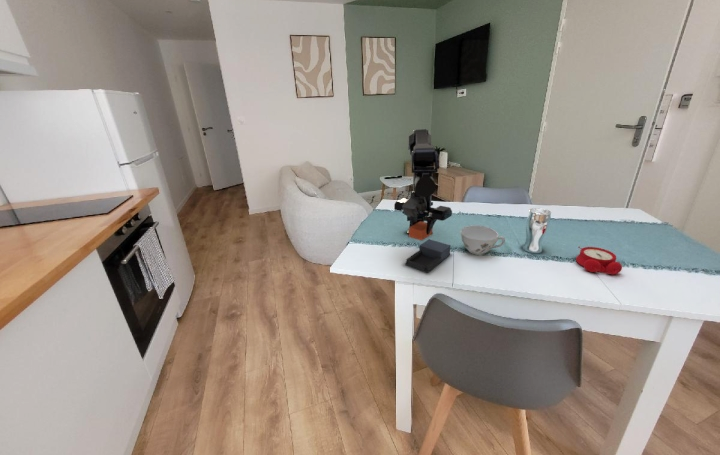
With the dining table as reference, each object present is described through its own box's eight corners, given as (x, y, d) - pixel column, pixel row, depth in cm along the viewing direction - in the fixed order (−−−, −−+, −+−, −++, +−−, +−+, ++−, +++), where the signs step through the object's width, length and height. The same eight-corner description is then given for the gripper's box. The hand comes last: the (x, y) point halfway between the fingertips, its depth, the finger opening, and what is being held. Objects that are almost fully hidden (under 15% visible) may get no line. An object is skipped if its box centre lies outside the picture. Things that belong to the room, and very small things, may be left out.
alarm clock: (609, 247, 98) (633, 259, 84) (605, 265, 99) (629, 279, 85) (573, 244, 101) (590, 255, 87) (570, 261, 102) (586, 274, 88)
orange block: (419, 230, 103) (420, 221, 102) (432, 233, 100) (432, 224, 98) (408, 236, 98) (409, 227, 97) (421, 240, 95) (422, 230, 94)
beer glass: (537, 245, 110) (545, 207, 104) (547, 253, 103) (556, 214, 97) (518, 245, 110) (525, 207, 104) (526, 253, 104) (534, 214, 98)
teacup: (459, 257, 104) (460, 237, 100) (458, 242, 115) (460, 224, 111) (505, 262, 99) (508, 241, 96) (500, 246, 110) (503, 226, 107)
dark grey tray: (428, 248, 111) (428, 239, 110) (449, 255, 106) (450, 245, 104) (405, 265, 101) (405, 254, 99) (427, 273, 95) (428, 262, 94)
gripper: (384, 189, 93) (384, 233, 99) (436, 198, 81) (433, 248, 87) (403, 182, 101) (403, 223, 107) (454, 190, 89) (450, 236, 95)
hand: (420, 232), depth 99 cm, fingers closed on orange block, 5 cm apart
